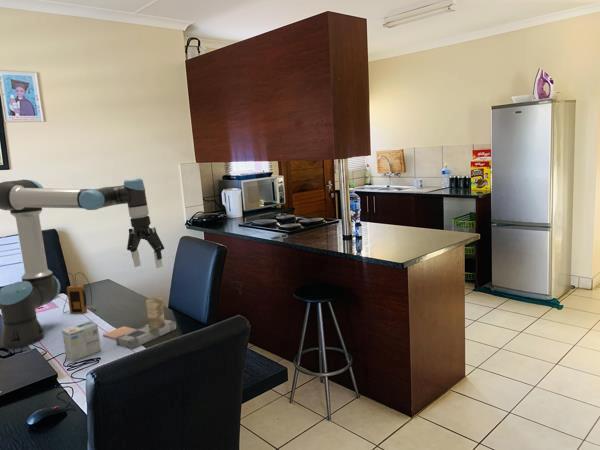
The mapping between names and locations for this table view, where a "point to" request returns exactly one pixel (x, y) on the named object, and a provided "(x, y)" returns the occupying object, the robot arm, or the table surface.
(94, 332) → the light bulb box
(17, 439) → the table surface
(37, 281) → the robot arm
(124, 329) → the pad
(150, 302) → the peg
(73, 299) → the multimeter
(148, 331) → the rail
